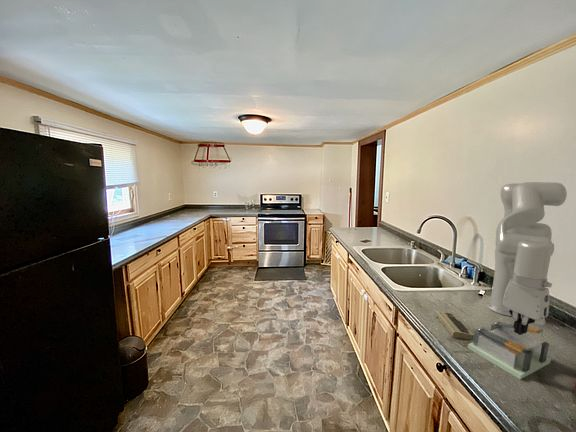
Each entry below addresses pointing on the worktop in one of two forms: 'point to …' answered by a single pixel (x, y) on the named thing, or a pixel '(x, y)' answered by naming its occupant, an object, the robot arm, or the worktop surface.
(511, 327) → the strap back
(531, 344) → the grey rack unit
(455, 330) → the computer
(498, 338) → the strip
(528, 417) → the worktop surface
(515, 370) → the board
